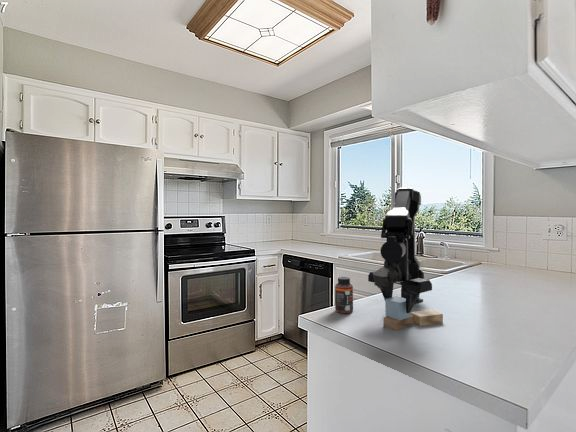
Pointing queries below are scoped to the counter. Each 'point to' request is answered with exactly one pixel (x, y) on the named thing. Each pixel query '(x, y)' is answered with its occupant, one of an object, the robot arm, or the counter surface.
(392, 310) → the cube
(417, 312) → the brick
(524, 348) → the counter surface
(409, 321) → the base brick
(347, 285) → the supplement bottle
